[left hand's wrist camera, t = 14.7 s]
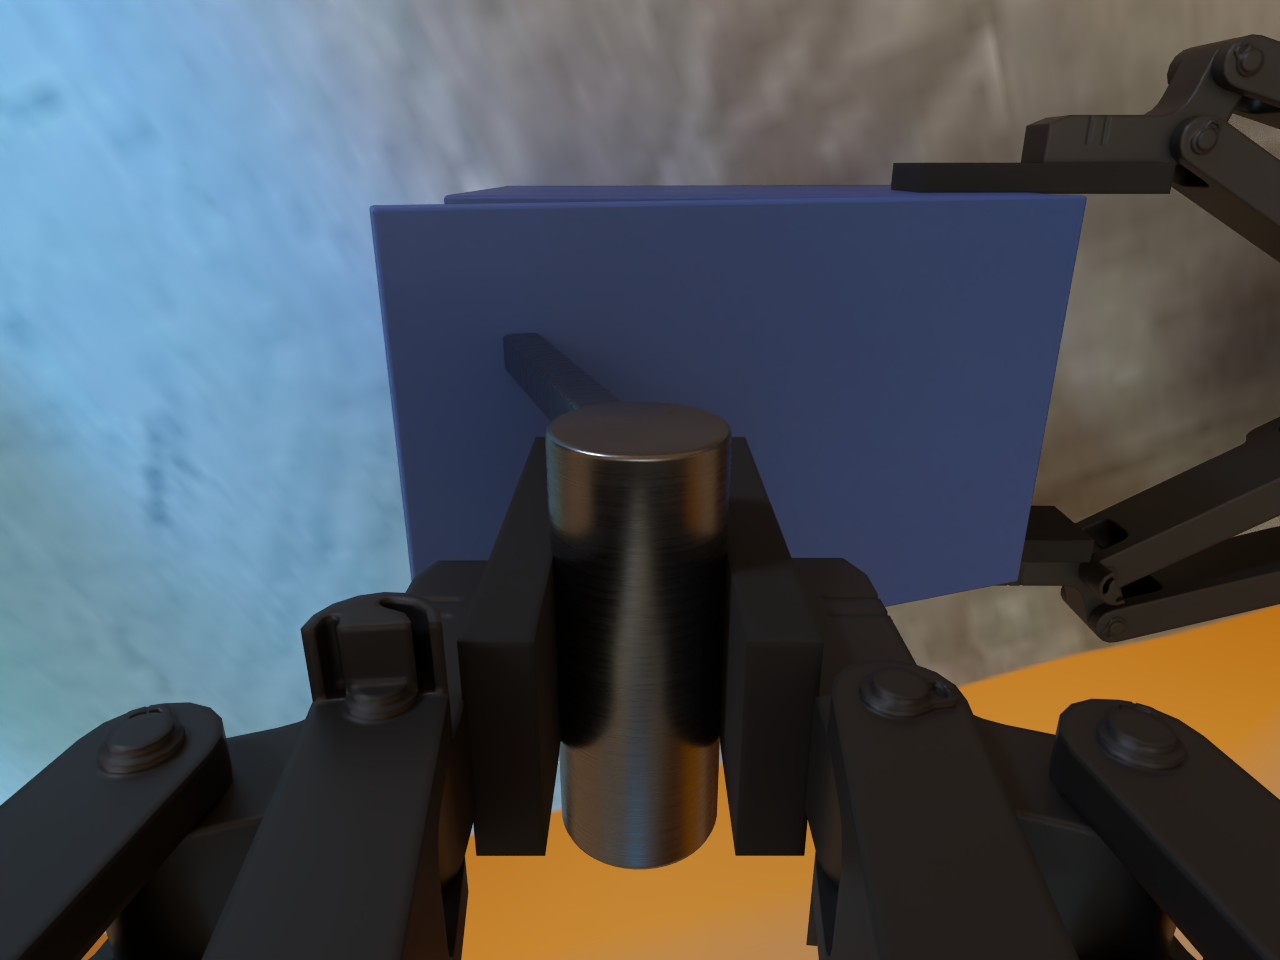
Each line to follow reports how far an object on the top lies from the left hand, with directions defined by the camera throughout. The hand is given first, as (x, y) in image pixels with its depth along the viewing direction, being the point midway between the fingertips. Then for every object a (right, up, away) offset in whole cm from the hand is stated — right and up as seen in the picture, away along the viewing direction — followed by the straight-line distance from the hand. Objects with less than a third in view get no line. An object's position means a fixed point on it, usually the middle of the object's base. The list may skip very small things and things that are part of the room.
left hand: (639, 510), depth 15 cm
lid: (+2, +2, +5) cm, 6 cm away
